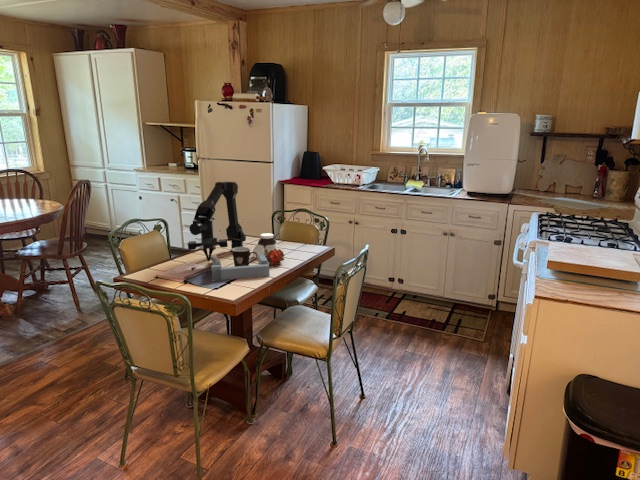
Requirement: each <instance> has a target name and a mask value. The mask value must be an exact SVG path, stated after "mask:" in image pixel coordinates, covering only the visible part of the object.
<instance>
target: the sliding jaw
mask: <svg viewBox="0 0 640 480" xmlns="http://www.w3.org/2000/svg"><path fill="white" fill-rule="evenodd" d="M210 260H212V265H221V266H222V262H221V258H219V257H218V256H217V253H216V254H212V255H211V258H210Z"/></svg>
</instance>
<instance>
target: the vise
mask: <svg viewBox="0 0 640 480" xmlns="http://www.w3.org/2000/svg"><path fill="white" fill-rule="evenodd" d="M257 261H258V264H253V265H252V264H251V265H250V264H249V266H237V267H235V266H227V267H225V266H224V267H222V264H221V265H213V264H212V265H211V281H212V280H218V281H224V280H223V279H230V280H239V279H251V278H263V277H269V276H270V264H269V262H268V260H267V257H265V255H258V258H257Z"/></svg>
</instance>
